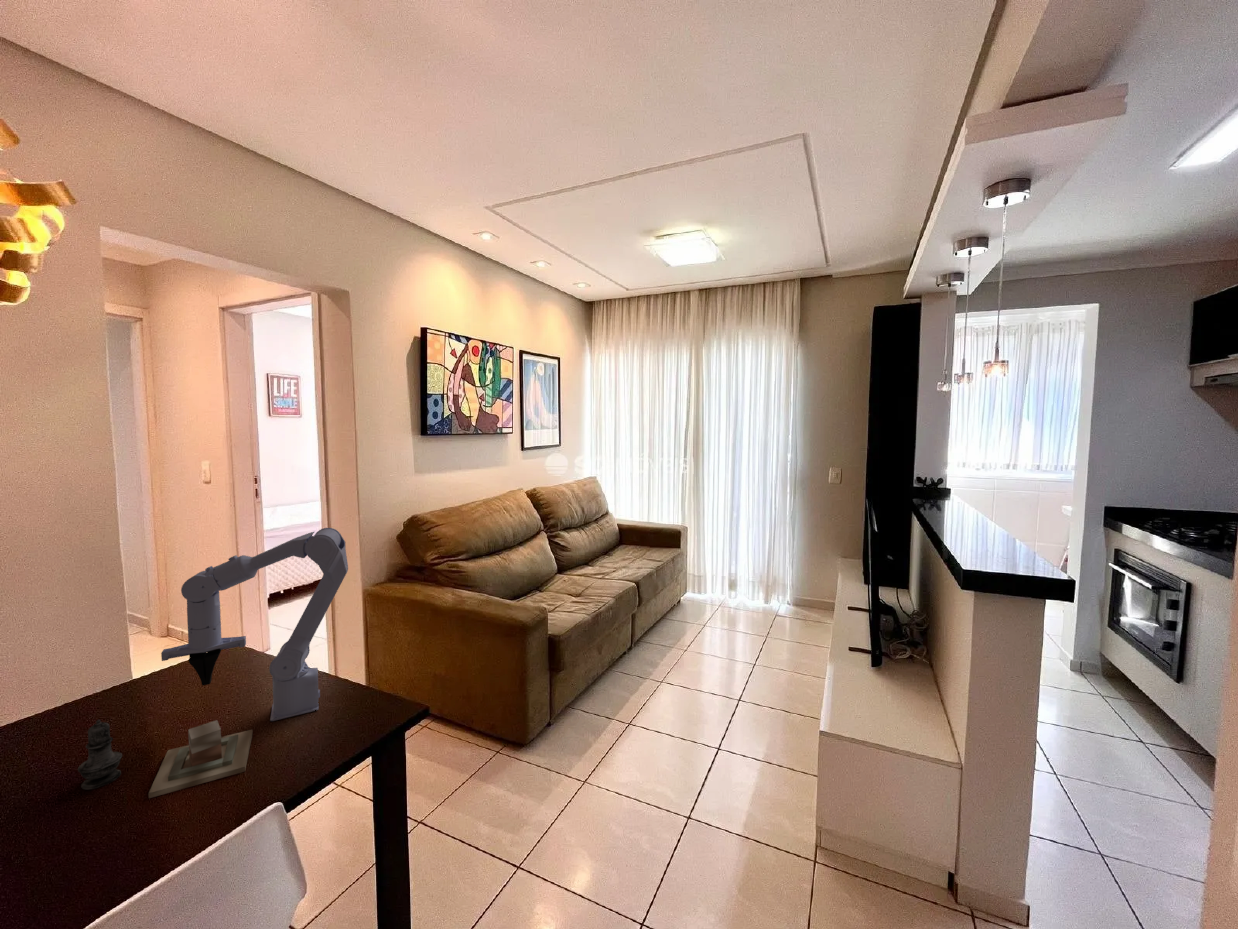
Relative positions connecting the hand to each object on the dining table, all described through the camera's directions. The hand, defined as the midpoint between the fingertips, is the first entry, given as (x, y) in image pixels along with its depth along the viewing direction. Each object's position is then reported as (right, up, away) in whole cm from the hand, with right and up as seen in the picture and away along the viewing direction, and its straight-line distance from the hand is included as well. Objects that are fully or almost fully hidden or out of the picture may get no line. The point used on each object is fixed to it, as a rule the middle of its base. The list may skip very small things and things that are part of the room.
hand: (206, 683), depth 111 cm
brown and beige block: (+11, -9, -13) cm, 19 cm away
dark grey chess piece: (-5, -11, -18) cm, 21 cm away
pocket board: (+11, -10, -13) cm, 20 cm away
